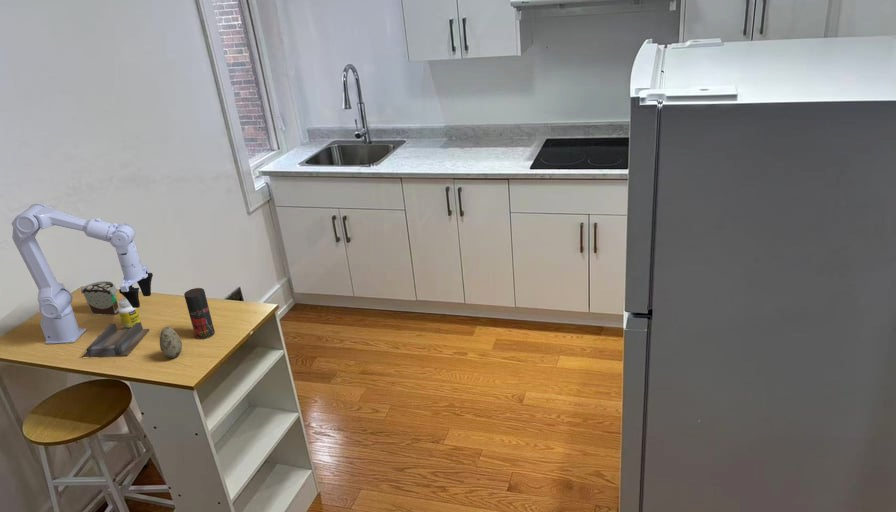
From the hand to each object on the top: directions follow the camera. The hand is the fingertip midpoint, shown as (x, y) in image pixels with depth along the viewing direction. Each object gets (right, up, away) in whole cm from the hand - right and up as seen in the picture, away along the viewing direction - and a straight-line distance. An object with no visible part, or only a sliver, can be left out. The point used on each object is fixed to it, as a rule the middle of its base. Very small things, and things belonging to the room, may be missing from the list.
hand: (141, 301), depth 211 cm
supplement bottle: (-6, -9, +6) cm, 12 cm away
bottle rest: (-6, -13, -4) cm, 15 cm away
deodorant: (+21, -10, -2) cm, 24 cm away
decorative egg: (+16, -16, -13) cm, 26 cm away
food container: (-19, -4, +18) cm, 26 cm away
